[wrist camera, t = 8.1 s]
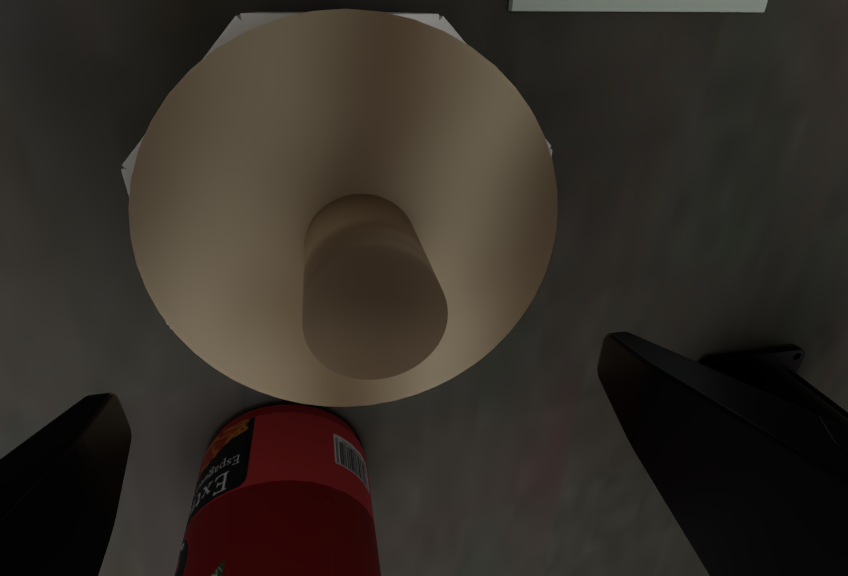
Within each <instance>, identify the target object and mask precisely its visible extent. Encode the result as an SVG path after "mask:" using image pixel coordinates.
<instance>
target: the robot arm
mask: <svg viewBox="0 0 848 576" xmlns="http://www.w3.org/2000/svg"><path fill="white" fill-rule="evenodd" d="M804 355H805V351H804V350H802V349H801V348H799V347H798V346H787V347H780V348H772V349H764V350H757V351H749V352H741V353H733V354H726V355H718V356H710V357H707V358H705V359H703V360H702V361H701V363H697V362H695V361H693V360H691V359H688V358H686V357H684V356H681V355H679V354H677V353H675V352H672V351H670V350H668V349H665V348H663V347H661V346H658V345H656V344H654V343H652V342H649V341H647V340H645V339H642V338H640V337H638V336H636V335H633V334H631V333H629V332H616V333H609V334H607V335H606V336H605V337H604V339H603V343H602V348H601V352H600V357H599V361H598V367H597V371H598V376H599V379H600V381H601V383H602V386H603V388H604V390H605V392H606V394H607V396H608V398H609V400H610V403H611V405H612V407H613V409H614V411H615V413H616V415H617V418H618V420H619V422H620V424H621V426H622V428H623V430H624V432H625V434H626V436H627V438H628V440H629V442H630V444H631V446H632V447H633V449H634V451H635V453H636V454H637V456H638V458H639V459H640V461H641V463H642V464H643V466H644V468H645V469H646V471H647V473H648V474H649V476H650V478H651V479H652V481H653V483H654V484H655V486H656V488H657V489H658V491H659V492H660V494H661V496H662V497H663V499H664V501H665V502H666V504H667V506H668V507H669V509H670V511H671V512H672V514H673V516H674V517H675V519H676V521H677V522H678V524H679V526H680V527H681V529H682V531H683V532H684V534H685V535H686V537H687V539H688V540H689V542H690V544H691V545H692V547H693V549H694V550H695V552H696V554H697V555H698V557H699V559H700V560H701V562H702V564H703V565H704V567H705V569H706V570H707V572H708V574H709V575H710V576H848V412H846V411H845V410H844V409H842V408H841V407H840V406H838V405H837V404H836V403H835V402H833V401H832V400H831V399H829V398H828V397H827V396H825V395H824V394H823V393H821V392H820V391H819V390H817V389H816V388H815V387H813V386H812V385H811V384H809V383H808V382H807V381H805V380H804V379H803V378H801V377H800V376H799V375H797V374H796V373H797V370H798V368H799V366H800V364H801V362H802V360H803V358H804ZM130 444H131V429H130V426H129V423H128V421H127V418H126V415H125V413H124V410H123V408H122V405H121V403H120V400H119V398H118V397H117V395H116V394H114V393H103V394H95V395H89V396H86V397H84V398H83V399H82V400H80V401H79V402H77V403H76V404H75V405H73V406H72V407H71V408H69V409H68V410H67V411H65V412H64V413H63V414H61V415H60V416H58V417H57V418H56V419H54V420H53V421H52V422H50V423H49V424H48V425H46V426H45V427H44V428H42V429H41V430H39V431H38V432H37V433H35V434H34V435H33V436H31V437H30V438H29V439H27V440H26V441H25V442H23V443H22V444H20V445H19V446H18V447H16V448H15V449H14V450H12V451H11V452H10V453H8V454H7V455H6V456H4V457H3V458H1V459H0V576H98V574H99V571H100V568H101V565H102V562H103V559H104V556H105V553H106V550H107V546H108V543H109V540H110V537H111V533H112V530H113V527H114V523H115V518H116V514H117V509H118V504H119V499H120V494H121V489H122V484H123V479H124V474H125V469H126V464H127V459H128V454H129V449H130Z"/></svg>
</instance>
